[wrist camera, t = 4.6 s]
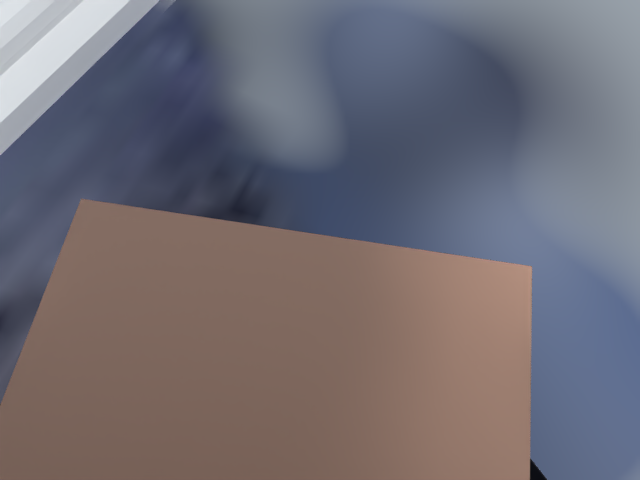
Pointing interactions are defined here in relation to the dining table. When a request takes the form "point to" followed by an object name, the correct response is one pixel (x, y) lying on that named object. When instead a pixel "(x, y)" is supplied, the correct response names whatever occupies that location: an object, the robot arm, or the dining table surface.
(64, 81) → the chess set
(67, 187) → the dining table surface
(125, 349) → the block
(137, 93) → the dining table surface
